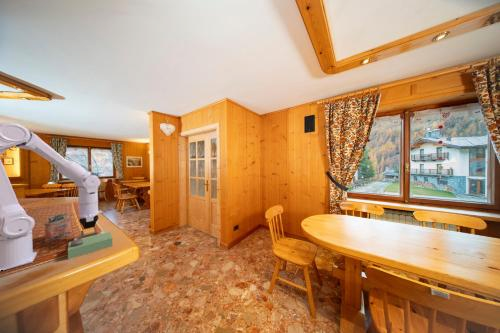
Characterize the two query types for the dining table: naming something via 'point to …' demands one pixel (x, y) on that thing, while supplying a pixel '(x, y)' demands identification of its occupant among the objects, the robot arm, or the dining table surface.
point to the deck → (89, 244)
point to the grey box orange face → (88, 232)
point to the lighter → (57, 227)
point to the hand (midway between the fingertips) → (89, 234)
